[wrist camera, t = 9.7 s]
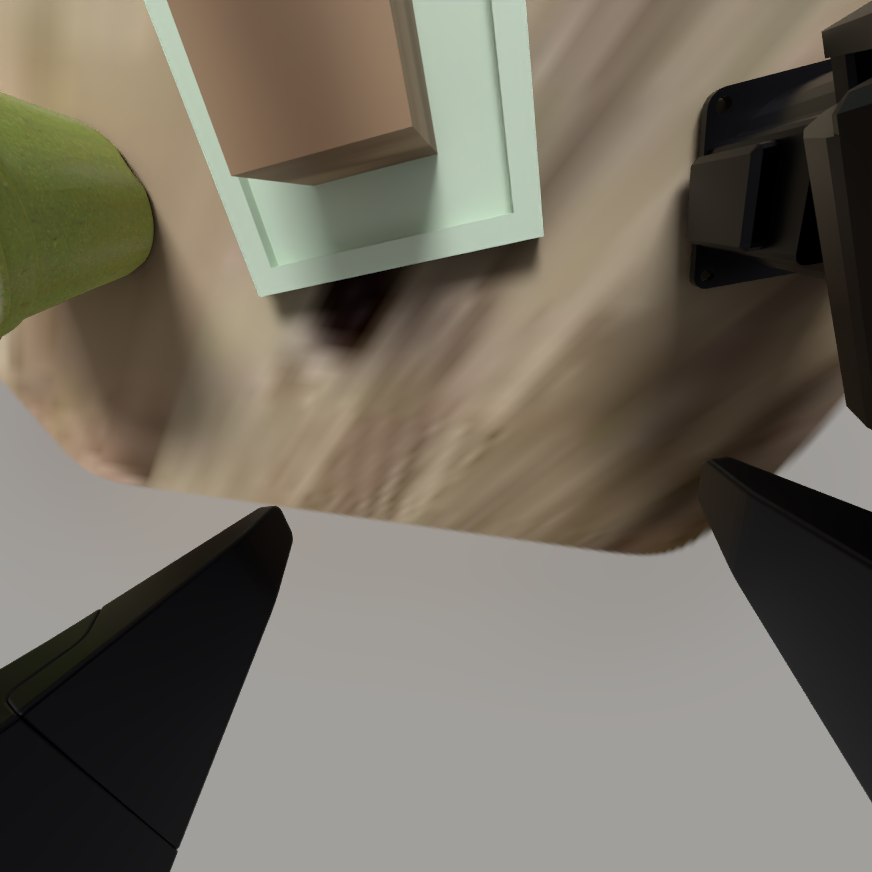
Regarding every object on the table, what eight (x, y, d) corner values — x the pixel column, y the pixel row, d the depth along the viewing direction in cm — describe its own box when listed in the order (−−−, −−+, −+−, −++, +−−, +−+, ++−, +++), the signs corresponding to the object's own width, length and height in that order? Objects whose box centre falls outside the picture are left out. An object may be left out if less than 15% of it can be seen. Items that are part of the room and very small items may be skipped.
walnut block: (406, -34, 13) (353, -195, 8) (437, 154, 15) (412, 126, 10) (264, 16, 14) (130, -98, 9) (313, 186, 16) (231, 176, 11)
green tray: (500, -240, 11) (502, -297, 10) (539, 234, 17) (543, 236, 16) (137, -82, 14) (100, -112, 12) (274, 291, 19) (259, 297, 18)
